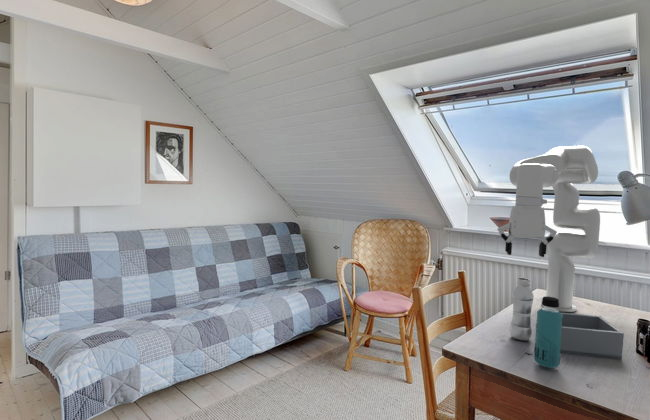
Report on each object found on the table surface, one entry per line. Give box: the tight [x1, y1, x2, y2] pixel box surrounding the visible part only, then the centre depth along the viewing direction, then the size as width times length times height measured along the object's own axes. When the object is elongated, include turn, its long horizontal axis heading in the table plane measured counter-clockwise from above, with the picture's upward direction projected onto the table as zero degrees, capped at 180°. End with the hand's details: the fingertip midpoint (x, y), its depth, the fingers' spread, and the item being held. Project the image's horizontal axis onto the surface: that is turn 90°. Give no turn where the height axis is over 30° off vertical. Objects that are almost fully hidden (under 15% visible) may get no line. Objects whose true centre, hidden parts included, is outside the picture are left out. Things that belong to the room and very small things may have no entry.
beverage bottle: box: [533, 296, 563, 369], centre depth 109 cm, size 6×7×20 cm
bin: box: [560, 312, 625, 361], centre depth 124 cm, size 15×17×8 cm
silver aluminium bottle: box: [509, 277, 535, 342], centre depth 129 cm, size 6×7×20 cm
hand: (525, 255), depth 127 cm, fingers open, 9 cm apart
